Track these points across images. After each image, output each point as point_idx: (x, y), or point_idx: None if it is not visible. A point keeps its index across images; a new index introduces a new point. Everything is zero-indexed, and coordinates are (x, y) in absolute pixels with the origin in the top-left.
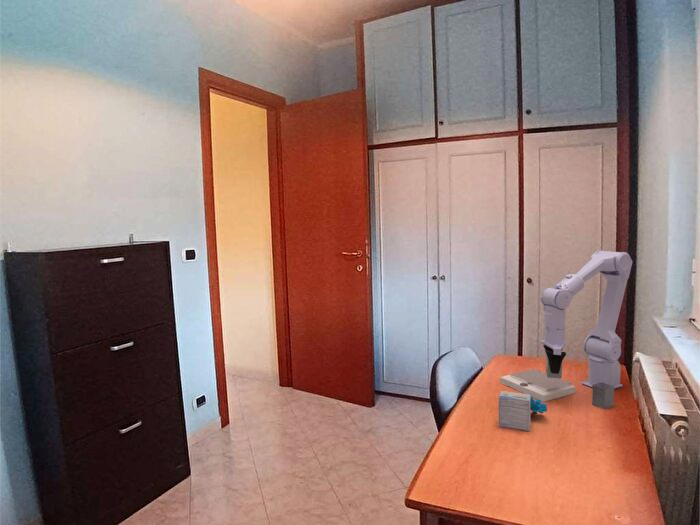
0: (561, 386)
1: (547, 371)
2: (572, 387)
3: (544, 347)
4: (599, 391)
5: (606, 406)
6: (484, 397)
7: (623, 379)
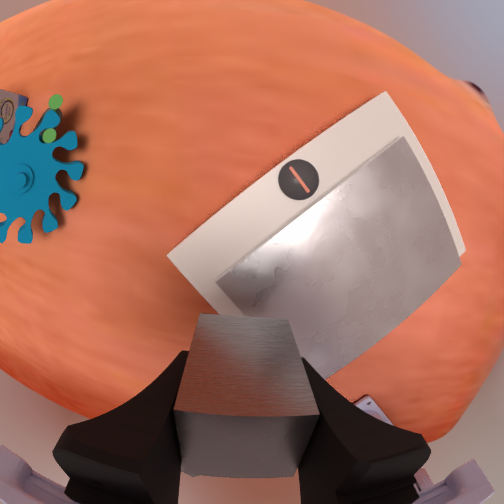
0: None
1: (194, 334)
2: None
3: (352, 462)
4: None
5: None
6: (192, 22)
7: None
